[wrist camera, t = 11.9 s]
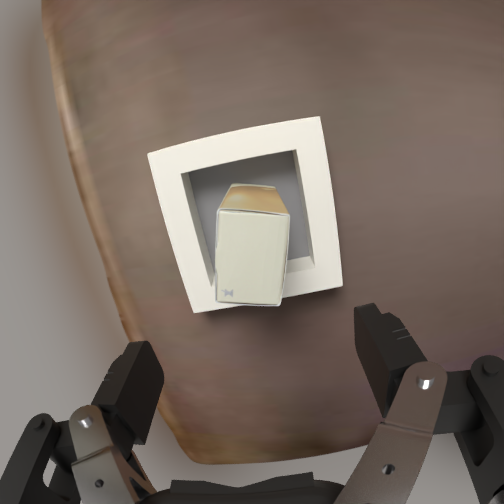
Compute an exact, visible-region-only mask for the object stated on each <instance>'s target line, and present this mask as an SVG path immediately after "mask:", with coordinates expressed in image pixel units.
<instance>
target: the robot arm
mask: <svg viewBox="0 0 504 504" xmlns="http://www.w3.org/2000/svg"><path fill="white" fill-rule="evenodd" d="M354 330H355V346H356V351H357V354H358V357H359V359H360V361H361V364H362V366H363V369H364V371H365V374H366V376H367V379H368V381H369V384H370V386H371V389H372V391H373V394H374V396H375V399H376V401H377V404H378V407H379V409H380V412H381V414H382V417H383V418H385V417H386V418H385V420H384V422H381V423H380V424H379V426H378V427H377V429H376V431H375V433H374V435H373V437H372V439H371V441H370V443H369V445H368V447H367V448H366V450H365V452H364V454H363V456H362V458H361V460H360V461H359V463H358V465H357V466H356V468H355V470H354V472H353V473H352V475H351V477H350V478H349V480H348V482H347V483H346V485H345V486H344V485H341V484H338V483H334V482H330V481H323V480H314V479H313V472H309V473H302V474H295V475H289V476H280V477H275V478H271V479H268V480H265V481H262V482H258V483H255V484H251V485H248V486H244V487H239V488H237V487H231V486H225V485H220V484H215V483H211V482H206V481H185V480H172V482H171V487H170V489H166V490H162V491H159V492H157V491H156V490H155V488H154V487H153V486H152V484H151V482H150V481H149V479H148V477H147V475H146V474H145V472H144V470H143V468H142V466H141V464H140V463H139V461H138V459H137V457H136V455H135V453H134V452H133V450H132V447H133V444H139V445H145V443H146V439H147V436H148V433H149V429H150V426H151V422H152V419H153V416H154V413H155V409H156V406H157V403H158V400H159V397H160V393H161V390H162V387H163V384H164V373H163V369H162V367H161V365H160V363H159V361H158V359H157V357H156V355H155V353H154V351H153V349H152V346H151V344H150V343H149V342H148V341H138V342H130V343H129V344H128V345H127V347H126V349H125V351H124V353H123V355H120V356H119V357H118V358H117V359H116V360H115V361H114V362H113V363H112V364H111V366H110V368H109V370H108V374H106V376H105V378H104V381H102V383H101V385H100V387H99V389H98V391H97V393H96V395H95V397H94V399H93V401H92V403H91V405H85V406H82V407H80V408H78V409H77V410H75V411H74V412H73V414H72V415H71V417H70V419H69V420H67V421H62V422H55V421H54V420H53V418H52V417H51V416H50V415H49V414H46V413H42V414H39V415H36V416H35V417H33V418H32V419H31V420H30V421H29V423H28V424H27V426H26V428H25V430H24V432H23V434H22V436H21V438H20V440H19V441H18V444H17V445H16V448H15V450H14V452H13V454H12V456H11V458H10V460H9V462H8V464H7V466H6V469H5V471H4V473H3V475H2V477H1V480H0V504H80V501H81V500H82V503H83V504H405V503H406V501H407V499H408V497H409V495H410V493H411V490H412V488H413V486H414V484H415V481H416V479H417V477H418V474H419V472H420V469H421V467H422V464H423V462H424V459H425V456H426V454H427V451H428V448H429V445H430V442H431V439H432V436H433V435H434V434H445V433H454V436H455V438H456V440H457V443H458V445H459V448H460V450H461V453H462V455H463V458H464V460H465V463H466V466H467V468H468V471H469V474H470V476H471V479H472V482H473V484H474V488H475V490H476V493H477V496H478V499H479V502H480V504H504V361H503V360H502V359H501V358H499V357H496V356H491V355H486V356H482V357H479V358H478V359H476V360H475V361H474V362H473V364H472V366H471V369H470V370H465V371H455V372H446V371H445V369H444V368H443V367H441V366H440V365H438V364H436V363H434V362H428V361H427V359H426V358H425V356H424V354H423V353H422V351H421V350H420V348H419V347H418V345H417V344H416V342H415V341H414V339H413V338H412V336H410V333H409V332H408V330H407V329H405V326H404V325H403V323H402V322H401V320H400V319H399V318H397V317H396V316H394V315H393V314H391V313H385V314H381V313H380V311H379V309H378V308H377V306H376V305H375V304H374V303H370V304H366V305H362V306H358V307H355V308H354ZM49 458H50V459H51V460H52V461H53V462H54V463H55V464H56V468H55V471H54V473H53V476H52V479H51V481H50V484H49V487H47V486H46V485H45V484H44V482H43V473H44V470H45V468H46V465H47V463H48V461H49Z"/></svg>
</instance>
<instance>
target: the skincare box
mask: <svg viewBox="0 0 504 504" xmlns="http://www.w3.org/2000/svg"><path fill="white" fill-rule="evenodd" d="M289 230H290V215H289V213H288V211H287V209H286V207H285V205H284V203H283V201H282V199H281V197H280V195H279V194H278V192H277V190H276V188H275V187H274V186H266V185H256V184H241V183H233V184H231V186H230V188H229V190H228V191H227V193H226V195H225V197H224V199H223V201H222V203H221V204H220V206H219V208H218V210H217V220H216V246H215V302H216V303H225V304H237V305H251V306H279V305H280V304H281V300H282V295H283V289H284V283H285V275H286V266H287V256H288V244H289Z"/></svg>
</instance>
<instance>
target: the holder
mask: <svg viewBox="0 0 504 504" xmlns="http://www.w3.org/2000/svg"><path fill="white" fill-rule="evenodd" d="M147 155H148V159H149V163H150V167H151V171H152V175H153V179H154V183H155V187H156V191H157V194H158V198H159V202H160V205H161V209H162V213H163V216H164V220H165V223H166V227H167V230H168V234H169V237H170V240H171V244H172V247H173V250H174V254H175V257H176V260H177V263H178V267H179V270H180V273H181V276H182V279H183V282H184V285H185V288H186V291H187V294H188V297H189V300H190V303H191V306H192V309H193V312H194V313H198V312H204V311H210V310H217V309H223V308H229V307H235V306H241V305H237V304H225V303H216V302H215V246H216V220H217V210H218V208H219V206H220V204H221V203H222V201H223V199H224V197H225V195H226V193H227V191H228V190H229V188H230V186H231V184H233V183H241V184H256V185H266V186H274V187H275V188H276V190H277V192H278V194H279V195H280V197H281V199H282V201H283V203H284V205H285V207H286V209H287V211H288V213H289V215H290V230H289V244H288V256H287V266H286V275H285V283H284V289H283V295H282V298H285V297H290V296H295V295H300V294H306V293H311V292H316V291H320V290H325V289H330V288H335V287H340V286H343V283H342V271H341V260H340V250H339V240H338V231H337V223H336V215H335V207H334V200H333V192H332V185H331V179H330V172H329V166H328V160H327V154H326V148H325V142H324V137H323V132H322V126H321V121H320V116H318V117H311V118H304V119H297V120H291V121H285V122H279V123H273V124H267V125H262V126H257V127H251V128H246V129H242V130H237V131H232V132H228V133H223V134H219V135H214V136H210V137H206V138H202V139H198V140H194V141H190V142H186V143H183V144H179V145H175V146H172V147H168V148H164V149H161V150H158V151H154V152H151V153H148V154H147Z"/></svg>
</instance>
